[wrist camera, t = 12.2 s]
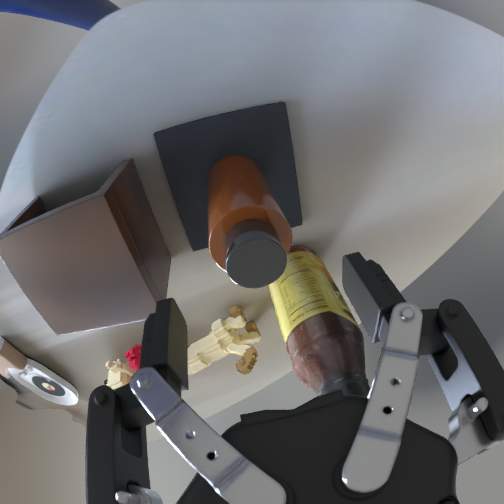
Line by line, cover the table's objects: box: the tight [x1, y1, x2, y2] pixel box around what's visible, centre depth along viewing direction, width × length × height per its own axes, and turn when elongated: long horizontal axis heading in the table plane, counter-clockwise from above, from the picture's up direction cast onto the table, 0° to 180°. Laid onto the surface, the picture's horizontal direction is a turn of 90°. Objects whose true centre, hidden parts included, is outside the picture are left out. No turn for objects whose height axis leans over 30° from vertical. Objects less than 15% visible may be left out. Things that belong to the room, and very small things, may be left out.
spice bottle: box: [207, 155, 292, 288], centre depth 20 cm, size 5×5×12 cm
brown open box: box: [0, 158, 171, 335], centre depth 22 cm, size 11×12×8 cm
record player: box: [0, 337, 79, 405], centre depth 37 cm, size 12×3×20 cm
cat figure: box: [104, 305, 261, 390], centre depth 34 cm, size 10×9×25 cm
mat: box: [154, 102, 302, 251], centre depth 25 cm, size 12×11×1 cm
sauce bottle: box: [268, 246, 370, 398], centre depth 23 cm, size 7×6×20 cm
